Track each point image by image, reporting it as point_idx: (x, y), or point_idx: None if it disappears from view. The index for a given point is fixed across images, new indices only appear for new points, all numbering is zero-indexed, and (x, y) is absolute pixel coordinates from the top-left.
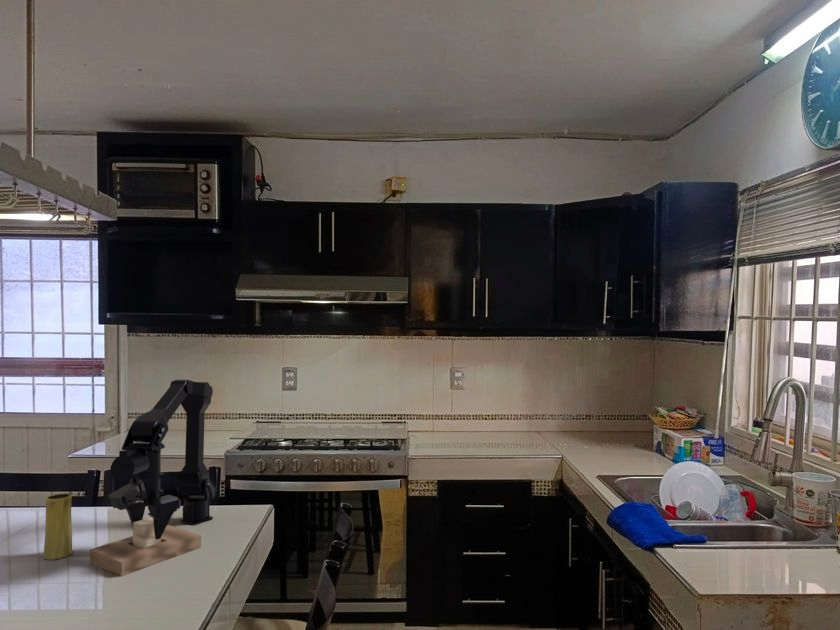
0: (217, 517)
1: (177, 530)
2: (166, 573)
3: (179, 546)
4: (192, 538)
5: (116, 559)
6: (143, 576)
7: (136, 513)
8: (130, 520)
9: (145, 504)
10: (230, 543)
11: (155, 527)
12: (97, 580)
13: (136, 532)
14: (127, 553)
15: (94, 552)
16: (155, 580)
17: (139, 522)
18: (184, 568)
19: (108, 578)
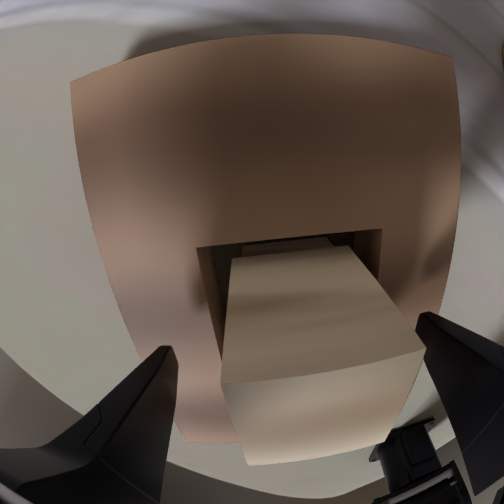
0: (368, 462)
1: None
2: (30, 241)
3: None
4: (176, 424)
5: (135, 63)
6: (47, 166)
7: (483, 404)
8: (488, 340)
9: (471, 473)
10: None
11: (111, 402)
12: (152, 3)
13: (340, 307)
14: (188, 148)
15: (405, 47)
16: (4, 189)
17: (366, 386)
18: (42, 298)
19: (132, 40)
